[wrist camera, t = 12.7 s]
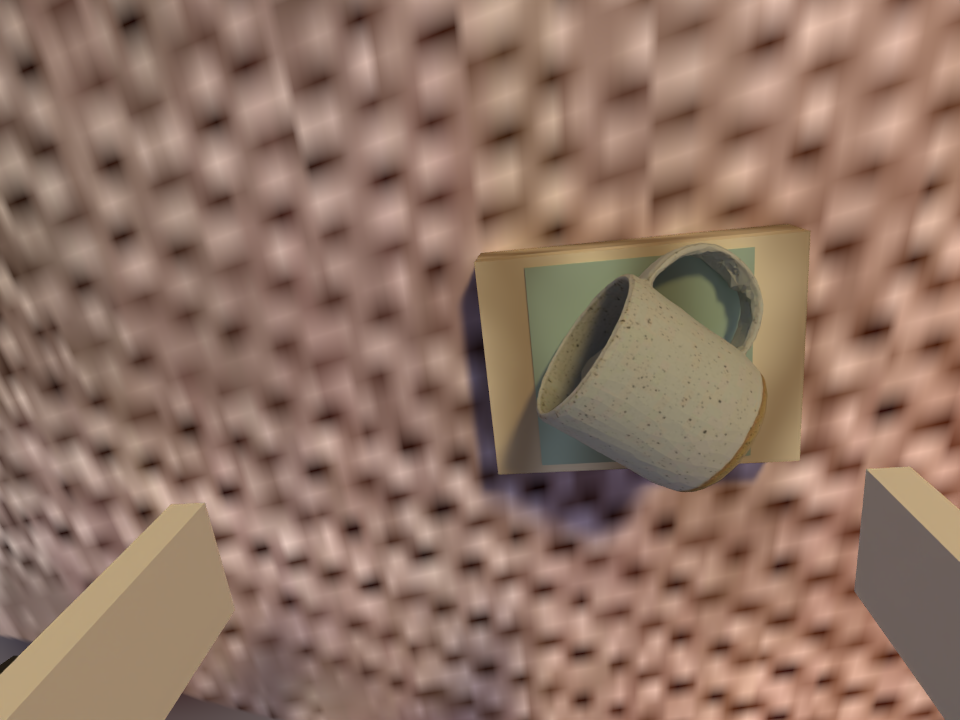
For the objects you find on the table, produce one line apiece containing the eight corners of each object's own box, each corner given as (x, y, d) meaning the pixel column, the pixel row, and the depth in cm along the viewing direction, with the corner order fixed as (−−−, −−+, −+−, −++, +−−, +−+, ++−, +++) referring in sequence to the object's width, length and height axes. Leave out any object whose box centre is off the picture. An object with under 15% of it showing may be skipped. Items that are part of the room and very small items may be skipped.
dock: (502, 450, 38) (498, 475, 35) (480, 253, 35) (474, 262, 32) (780, 436, 36) (800, 461, 33) (788, 224, 33) (811, 231, 30)
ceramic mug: (662, 458, 34) (694, 540, 27) (533, 380, 33) (529, 442, 26) (793, 293, 31) (870, 335, 23) (652, 203, 30) (687, 217, 23)
